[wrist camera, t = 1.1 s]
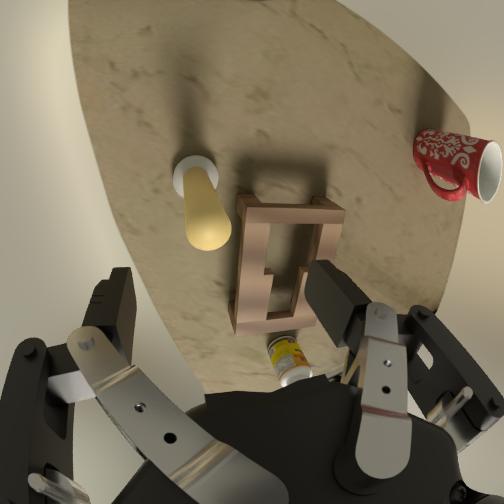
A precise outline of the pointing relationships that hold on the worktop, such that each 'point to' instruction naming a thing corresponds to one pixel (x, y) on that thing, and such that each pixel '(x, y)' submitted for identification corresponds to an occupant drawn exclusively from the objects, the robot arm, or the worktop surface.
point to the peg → (201, 203)
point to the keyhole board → (260, 278)
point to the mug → (459, 164)
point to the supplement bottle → (288, 360)
